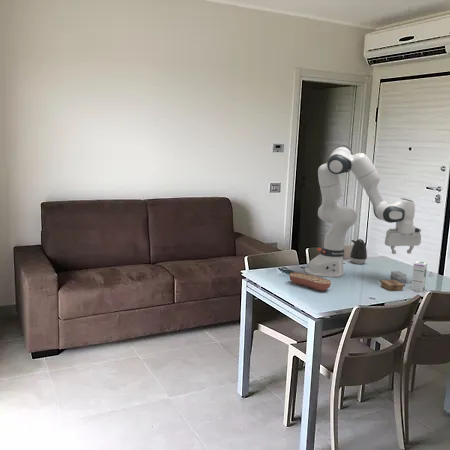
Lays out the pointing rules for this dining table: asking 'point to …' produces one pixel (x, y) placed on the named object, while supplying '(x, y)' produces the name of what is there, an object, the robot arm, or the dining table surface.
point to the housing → (398, 276)
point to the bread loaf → (310, 281)
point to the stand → (391, 285)
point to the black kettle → (358, 252)
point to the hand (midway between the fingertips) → (401, 253)
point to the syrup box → (419, 276)
